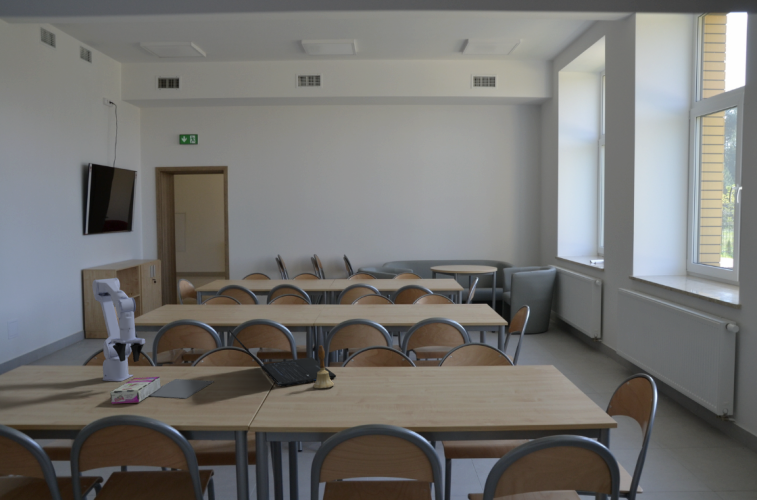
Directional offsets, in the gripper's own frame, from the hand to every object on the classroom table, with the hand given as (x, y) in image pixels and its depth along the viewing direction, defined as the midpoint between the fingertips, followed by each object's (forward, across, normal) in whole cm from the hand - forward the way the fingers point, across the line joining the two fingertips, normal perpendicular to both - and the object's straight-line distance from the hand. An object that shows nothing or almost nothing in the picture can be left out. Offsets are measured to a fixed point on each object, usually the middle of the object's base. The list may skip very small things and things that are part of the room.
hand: (129, 361), depth 219 cm
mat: (+11, +22, 0) cm, 25 cm away
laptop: (+12, +56, +23) cm, 62 cm away
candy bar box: (+8, +10, -2) cm, 13 cm away
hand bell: (+11, +79, +12) cm, 80 cm away
